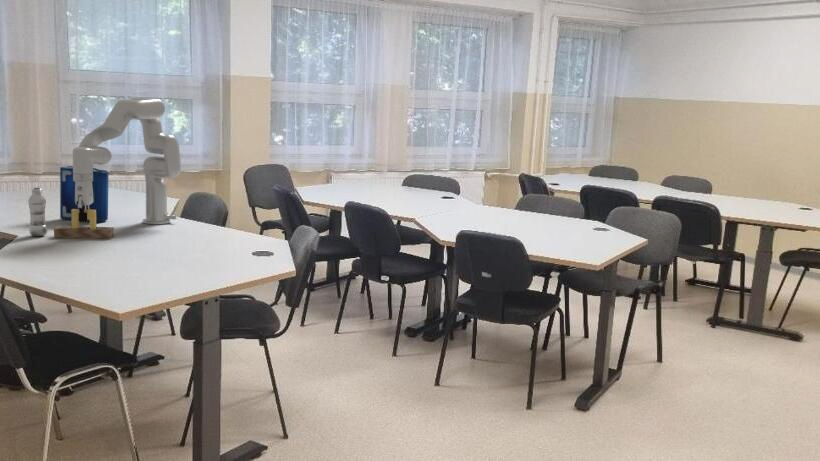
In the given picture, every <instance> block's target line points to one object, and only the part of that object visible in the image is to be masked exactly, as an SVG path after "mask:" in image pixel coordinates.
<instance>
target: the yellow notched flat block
mask: <svg viewBox="0 0 820 461" xmlns="http://www.w3.org/2000/svg"><path fill="white" fill-rule="evenodd" d="M86 213H87V220H90V222H89V227H90V229H96V227H97V222H96V210H90V209H86ZM71 215H72V220H71V226H72V228H75V229H78V228H79V224H80V222H79V212H78V209H72V210H71Z"/></svg>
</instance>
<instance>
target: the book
mask: <svg viewBox="0 0 820 461" xmlns="http://www.w3.org/2000/svg"><path fill="white" fill-rule="evenodd" d="M59 173H60V176H59V179H60V181H59V186H60V187H59V188H60V190H59V191H60V192H59V194H60V195H59V199H60V200H59V204H60V206H59V207H60V208H59V210H60V211H59V213H60V215H59V216H60V217H59V218H60V220H65V221H72V215H71V210H72V209H78V205H76V203H75V183H76V182H75V181H73V165H67V166H61V167H60V170H59ZM109 175H110V174H109V171H108V170H105V169H98V168H94V167H93V181H92V187H93V203H92V204H90V205H89V209H90V210H96V223H104V222H106V221H108V220H109ZM86 223H90V220H89V221H87V222H86Z"/></svg>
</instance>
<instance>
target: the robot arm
mask: <svg viewBox="0 0 820 461" xmlns="http://www.w3.org/2000/svg"><path fill="white" fill-rule="evenodd" d="M165 112H166V106H165V103H164V102H163V101H162V100H161V99H158V98H152V97H151V98H150V97H149V98H148V97H132V98H130V99H120V100H118V101H117V102H116V103H114V106H113V108H112V109H111V110H110V112H109V113H108V116H107V117H106V118H105V120H104V122H103V123H102V124H100V125H99V126H98V127H96V128H94V129H92V130H91V131H90V132H89V133H88V134H87V135H85V136H84V138H82V141H80V143H79V146H78V147H74V148H73V149H72V166H73V181H75V182H76V183H75V203H76V205H78V212H79V223H88V222H87V221H89V220H87V213H86V209H89V205H90V204H92V203H93V187H92V181H93V168H94V165H100V166H101V165H102V166H103V165H107V164H108V163H110V161H112V156H113V155H112V152H111V150H109V149H108V148H107V147H103V146H99V145H101V144H102V143H104V142H107V141H109V140H113V139H116V138H119V137H121V136H122V134H123V133H124V132H125V130H126V128H127V127H128V125H129V123H130V121H132V120H135V121H139V122H140V124H141V127H142V135H143V145H144V148H145V151H146V152H148V153H149V154H154V155H151V156H147V157H146V158H145V159H144V160H143V164H142V169H143V173H144V178H145V180H144V181H145V218H143V219H142V223H143V224H146V225H166V224H170V223H171V220H177V215H175V214H173V215H171V214H169V212H168V191H167V190H168V185H167V182H166V180H165V178H168V179H174V178H177V177H178V176H179V175H180V173H181V169H182V168H181V167H182V164H181V153H180V152H181V151H180V144H179V141H178V139H177V138H176V137H175V136H174V135H172V134H167V133H164V132H163V126H162V121H161V119H160V118H161V117H162V116H164V114H165ZM157 155H158V156H157ZM159 155H163V156H159Z"/></svg>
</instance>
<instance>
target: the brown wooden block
mask: <svg viewBox="0 0 820 461" xmlns="http://www.w3.org/2000/svg"><path fill="white" fill-rule="evenodd" d="M114 228H115V227H113V226H96V229H90V226H82V225H81V226H79V228H78V229H75V228H72V225H57V226H55V227H54V228H53V238H54V239H80V240H81V239H83V240H85V239H86V240H111V239H113V238H114V236H115V232H114V231H115V229H114Z"/></svg>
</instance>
